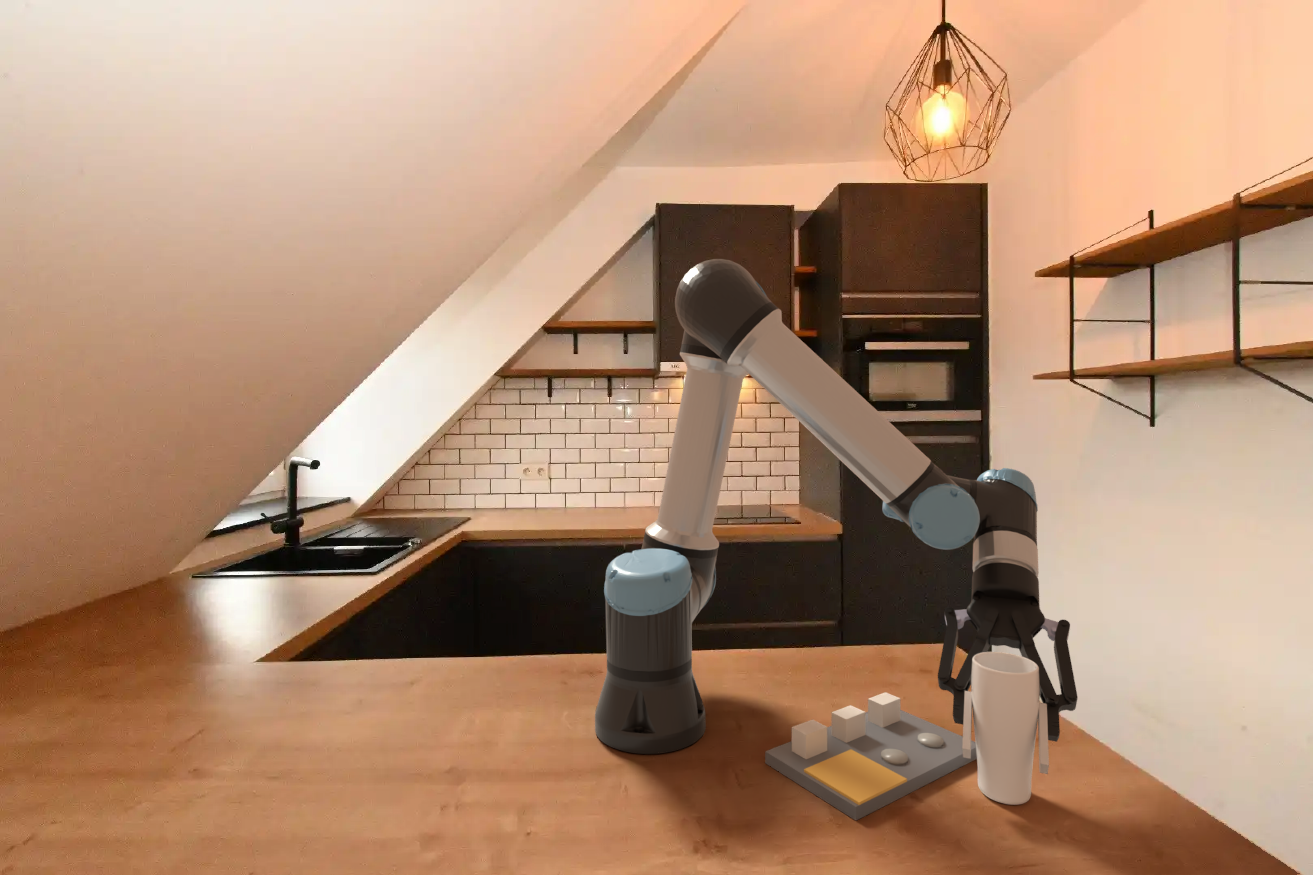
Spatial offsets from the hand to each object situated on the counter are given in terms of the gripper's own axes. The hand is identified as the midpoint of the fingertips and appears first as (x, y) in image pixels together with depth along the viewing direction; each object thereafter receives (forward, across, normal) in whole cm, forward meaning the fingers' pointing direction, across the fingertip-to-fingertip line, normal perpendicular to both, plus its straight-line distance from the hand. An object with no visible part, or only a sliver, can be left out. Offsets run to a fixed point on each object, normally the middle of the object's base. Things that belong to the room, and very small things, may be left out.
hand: (1004, 760), depth 73 cm
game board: (0, +14, -7) cm, 16 cm away
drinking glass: (+1, 0, -6) cm, 7 cm away
